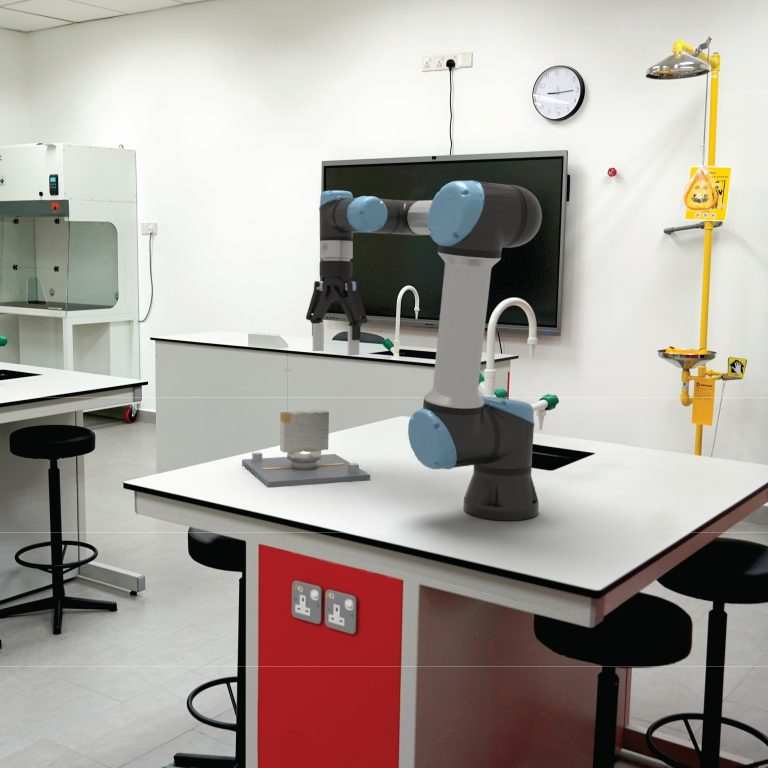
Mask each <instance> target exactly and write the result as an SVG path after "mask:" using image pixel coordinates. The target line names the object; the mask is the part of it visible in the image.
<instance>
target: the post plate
mask: <svg viewBox="0 0 768 768" xmlns="http://www.w3.org/2000/svg"><path fill="white" fill-rule="evenodd" d="M241 465H242V466H243V467H244V468H246V469H247V470H248V471H249V472H250V473H252V475H254V476H255V477H256V478H257V479H258V480H259V481H260V482H261V483H262V484H263V485H265V486H266V487H267V488H276V487H291V486H304V485H306V486H307V485H318V484H330V483H333V484H334V483H345V482H359V481H370V480H371V474H369V473H368V472H366V471H364V470H363V469H361V468H360V465H359V464H358V463H357V462H356V463H355V462H354V463H353V462H352V463H351V462H349V461H348V460H347V459H344V458H343V457H341V456H339V455H337V454H335V453H329V454H327V453H326V454H321V459H320V460H318V461H312V462H297V461H291V460H288V459H287V456H281V457H280V456H279V457H276V456H275V457H263V453H262V452H261V451H259V452H258V451H255V452H254V451H253V452H252V453H251V458H249V459H248V458H247V459H246V458H244V459H241Z"/></svg>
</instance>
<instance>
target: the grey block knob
mask: <svg viewBox="0 0 768 768" xmlns="http://www.w3.org/2000/svg"><path fill="white" fill-rule="evenodd" d="M279 419H280V426H279V427H280V429H279V431H280V432H279V435H280V437H279V438H280V439H279V447H280V448H279V450H280V452H282V453H286V454H287V455H286V457H287V459H288V460H291V461H297V462H312V461H318V460H320V459H321V455H322V451H326V450H327V451H328V450H329V433H330V432H329V429H330V428H329V425H330V422H329V421H330V413H329V411H328V410H323V409H322V410H320V409H319V410H302V411H301V410H300V411H280V418H279Z"/></svg>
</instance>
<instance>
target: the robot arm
mask: <svg viewBox="0 0 768 768" xmlns="http://www.w3.org/2000/svg"><path fill="white" fill-rule="evenodd" d="M319 199H320V201H319V207H318V210H319V258H320V259H322V260H321V261H320V262H319V277H321V278H323V280H315V281H314V283H313V291H312V295H311V299H310V302H309V305H308V309H307V313H306V316H305V319H306V320H307V321H309V322H310V323H311V336H312V351H313V352H323V351H324V350H325V349H324V348H325V323H324V317H325V315H326V313H327V312H328V310H329V308H330V306H331V304H332V303H334V302H337V303H338V304H340V306H341V308H342V310H343V312H344V314H345V316H346V318H347V320H348V322H349V323H348V325H347V356H359V355H360V340H361V327H362V326H363V324H367V323H368V319H367V314H366V311H365V307H364V304H363V301H362V298H361V295H360V294H361V293H360V291H359V290H360V286H359V281H349V280H350V278H352V277H353V262H352V261H351V260H352V259H353V258H354V256H353V255H354V253H353V252H354V251H353V250H354V248H353V247H354V246H353V244H354V242H353V240H354V238H353V236H354V234H355V233H364V234H365V233H367V234H369V233H370V234H392V235H406V236H407V235H408V236H430V237H431V239H432V241H433V242H435V243H436V244H437V245H438V247H437V248H438V249H437V254H438V255H439V256H440V258H441V260H443V261H444V271H443V272H444V273H443V281H442V282H443V283H442V293H441V300H440V301H441V302H440V310H439V311H440V313H439V323H438V330H437V331H438V333H437V342H436V352H435V363H434V373H433V382H432V383H433V384H432V388H431V389H430V390H429V391H428V392H427V393H425V394H424V396H423V403H422V408H420V409H418V410H416V411H414V412H413V413H412V415H411V416H410V418H409V420H408V421H409V422H408V426H407V427H408V428H407V433H408V440H409V444H410V447H411V449H412V451H413V453H414V456H415V458H416V459H417V460H418V461H419V462H420V463H421V465H423V466H424V467H427V468H428V469H432V470H443V469H444V470H452V469H455V468H460V467H468V466H473V470H472V471H473V472H472V476H471V478H470V481H469V483H468V487H467V489H466V492H465V494H464V498H463V511H464V512H466V513H467V514H469V515H472V516H474V517H476V518H477V517H478V518H481V519H486V520H487V519H488V520H493V521H494V520H495V521H522V520H528V519H532V518H534V517H537V515H539V505H540V504H539V499H538V495H537V491H536V487H535V485H534V484H535V483H534V481H533V477H532V469H533V468H532V467H533V466H532V464H533V447H534V445H533V444H534V428H535V426H536V425H535V421H534V420H535V419H534V415H535V414H534V413H535V412H534V408H533V406H532V404H530V403H529V402H525V401H522V400H517V399H516V400H515V399H509V398H505V397H504V398H503V397H496V396H486V395H485V396H484V395H480V394H479V392H478V391H479V382H480V374H481V364H482V357H483V356H482V354H483V346H484V339H485V338H484V337H485V336H484V335H485V328H486V320H487V319H486V318H487V310H488V301H489V292H490V283H491V272H492V268H493V267H494V265H496V264H497V263H499V261H501V259H502V251H503V248H516V247H520V246H523V245H525V244H527V243H528V242H530V241H531V240H532V239H533V238H534V237H535V236H536V234H538V232H539V230H540V227H541V225H542V219H543V214H542V208H541V205H540V201H539V200H538V198H537V197H536V195H534V194H533V193H532V192H531V191H530V190H528V189H527V188H525V187H523V186H519V185H515V184H503V183H502V184H501V183H492V182H486V181H485V182H484V181H476V180H456V181H455V180H453V181H450V182H449V183H446V184H445V185H444V186H442V187H441V188H440V190H439V191H438V192H437V193H435V196H434V198H433V199H432V200H431V199H429V200H401V199H400V200H399V199H386V198H379V197H376V196H373V195H372V196H370V195H369V196H367V195H362V196H359V197H353V193H352V192H351V191H348V190H324V191H322V192H321V194H320V198H319Z"/></svg>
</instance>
